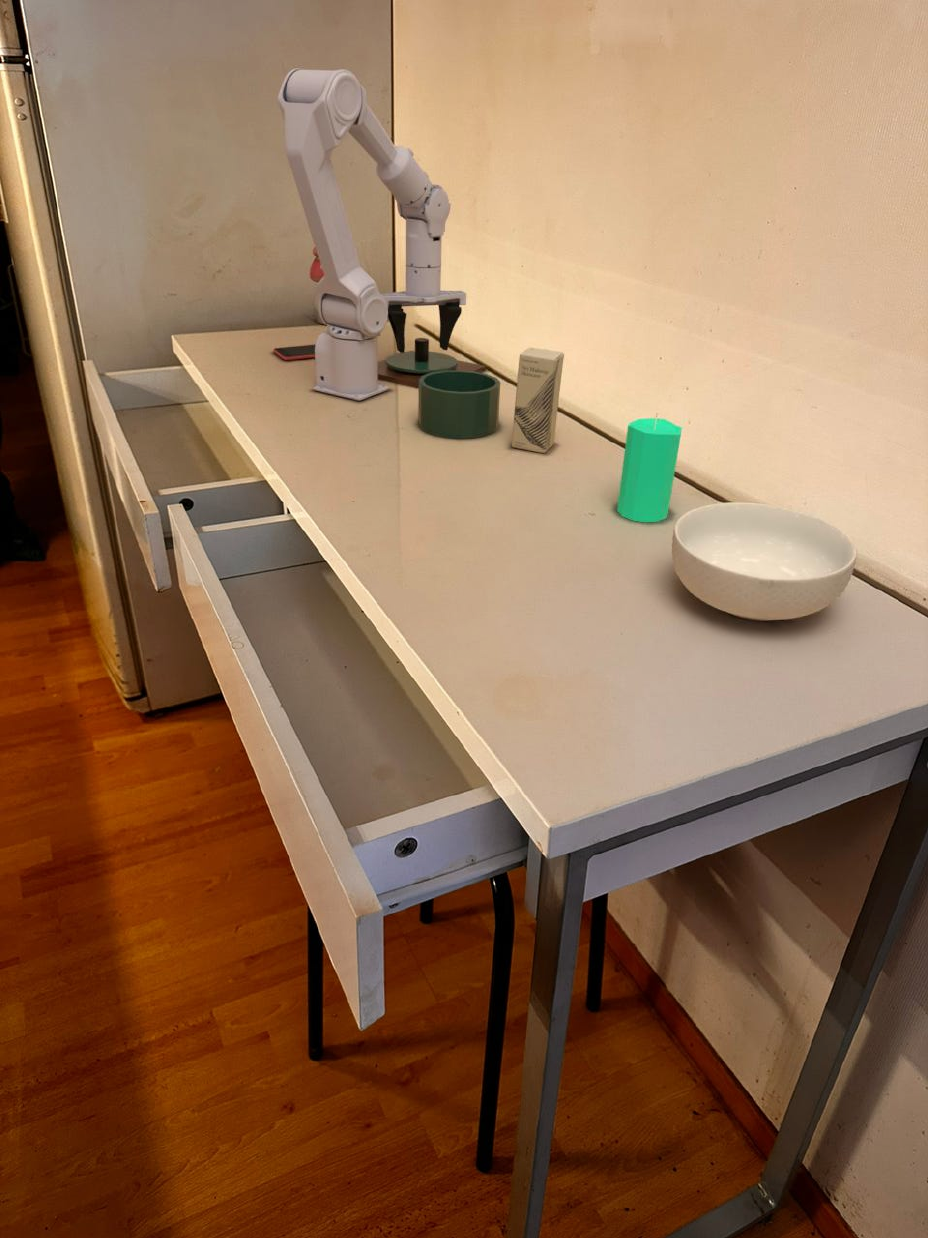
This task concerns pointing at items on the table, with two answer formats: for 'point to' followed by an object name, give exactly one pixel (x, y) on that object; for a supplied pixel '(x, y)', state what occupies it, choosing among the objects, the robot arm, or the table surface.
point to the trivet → (413, 378)
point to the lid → (421, 360)
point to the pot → (458, 404)
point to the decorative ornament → (316, 276)
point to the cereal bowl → (761, 559)
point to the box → (537, 399)
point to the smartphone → (296, 352)
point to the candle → (648, 469)
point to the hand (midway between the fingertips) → (422, 349)
